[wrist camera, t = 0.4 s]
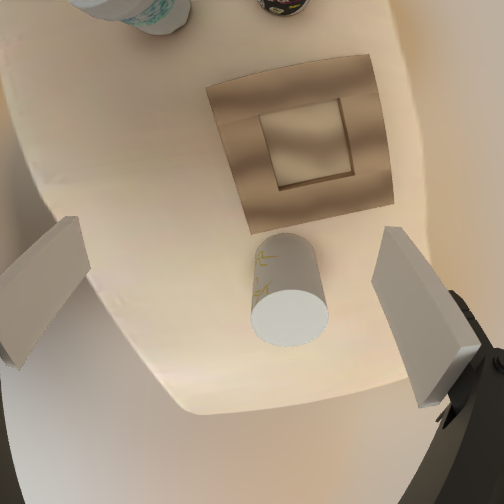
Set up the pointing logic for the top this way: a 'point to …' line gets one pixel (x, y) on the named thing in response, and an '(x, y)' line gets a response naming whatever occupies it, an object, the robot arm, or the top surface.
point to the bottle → (140, 13)
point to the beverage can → (283, 6)
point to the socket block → (305, 141)
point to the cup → (287, 292)
